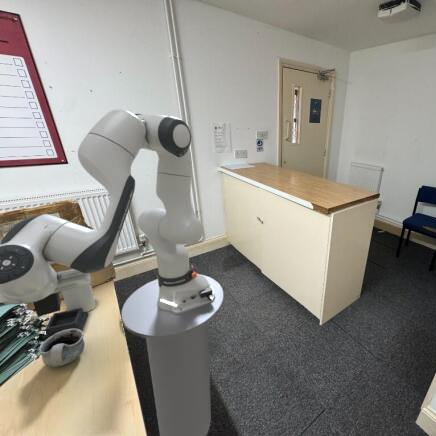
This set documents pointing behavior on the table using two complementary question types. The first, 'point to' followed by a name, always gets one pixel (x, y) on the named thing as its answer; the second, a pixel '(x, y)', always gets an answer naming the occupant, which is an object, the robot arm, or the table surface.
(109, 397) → the table surface
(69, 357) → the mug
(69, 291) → the cup
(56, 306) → the teal and black block
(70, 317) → the black open tray
